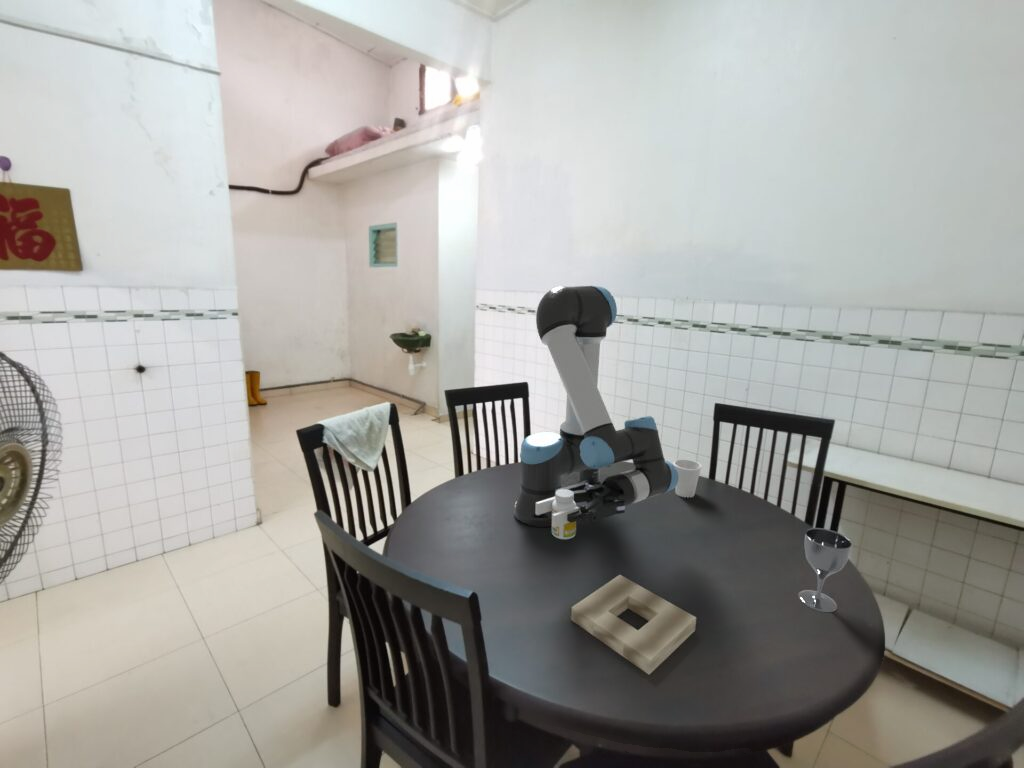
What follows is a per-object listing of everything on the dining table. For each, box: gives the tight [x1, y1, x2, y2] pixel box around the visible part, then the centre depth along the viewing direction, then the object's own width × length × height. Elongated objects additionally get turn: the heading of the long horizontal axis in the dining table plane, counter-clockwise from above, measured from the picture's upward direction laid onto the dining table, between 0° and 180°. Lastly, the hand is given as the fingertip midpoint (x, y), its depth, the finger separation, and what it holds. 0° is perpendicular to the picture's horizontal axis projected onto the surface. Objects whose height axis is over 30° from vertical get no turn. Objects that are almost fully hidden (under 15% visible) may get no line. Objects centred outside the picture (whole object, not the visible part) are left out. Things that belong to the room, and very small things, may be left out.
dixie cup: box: [673, 458, 703, 499], centre depth 151 cm, size 8×8×10 cm
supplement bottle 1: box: [551, 489, 578, 540], centre depth 104 cm, size 5×5×10 cm
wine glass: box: [797, 527, 852, 613], centre depth 100 cm, size 8×8×15 cm
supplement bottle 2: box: [578, 468, 601, 486], centre depth 159 cm, size 7×7×12 cm
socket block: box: [570, 574, 697, 675], centre depth 94 cm, size 18×16×3 cm
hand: (544, 514), depth 101 cm, fingers closed on supplement bottle 1, 5 cm apart
